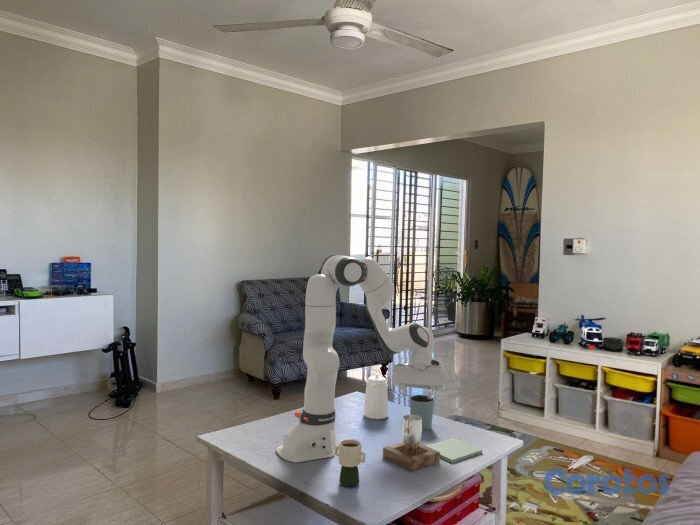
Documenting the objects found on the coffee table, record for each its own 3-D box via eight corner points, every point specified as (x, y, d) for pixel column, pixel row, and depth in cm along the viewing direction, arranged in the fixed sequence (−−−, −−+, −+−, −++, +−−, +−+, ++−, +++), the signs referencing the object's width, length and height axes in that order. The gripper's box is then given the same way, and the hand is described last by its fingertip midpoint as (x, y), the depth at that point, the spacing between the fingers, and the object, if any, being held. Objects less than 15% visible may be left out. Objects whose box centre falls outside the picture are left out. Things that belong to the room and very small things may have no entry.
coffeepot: (358, 424, 218) (359, 380, 217) (368, 406, 242) (369, 366, 241) (384, 427, 215) (385, 382, 215) (391, 408, 240) (392, 367, 239)
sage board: (451, 463, 182) (451, 459, 182) (423, 449, 193) (423, 446, 193) (482, 453, 192) (482, 450, 192) (453, 440, 203) (453, 437, 203)
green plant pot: (432, 423, 222) (433, 395, 222) (434, 431, 212) (435, 402, 212) (408, 422, 223) (409, 394, 222) (409, 430, 213) (410, 401, 212)
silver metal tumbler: (408, 453, 189) (409, 412, 189) (424, 459, 185) (426, 417, 184) (397, 459, 184) (398, 417, 183) (413, 465, 179) (415, 422, 179)
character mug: (369, 484, 165) (371, 443, 165) (358, 493, 159) (359, 450, 158) (340, 475, 171) (341, 436, 170) (328, 483, 165) (329, 443, 164)
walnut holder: (409, 471, 175) (410, 461, 174) (382, 457, 186) (383, 447, 186) (439, 462, 183) (439, 452, 183) (411, 448, 194) (412, 439, 194)
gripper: (393, 358, 205) (388, 390, 196) (446, 362, 200) (443, 395, 191) (394, 367, 209) (390, 398, 200) (446, 371, 205) (444, 403, 195)
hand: (416, 397), depth 196 cm, fingers open, 8 cm apart
